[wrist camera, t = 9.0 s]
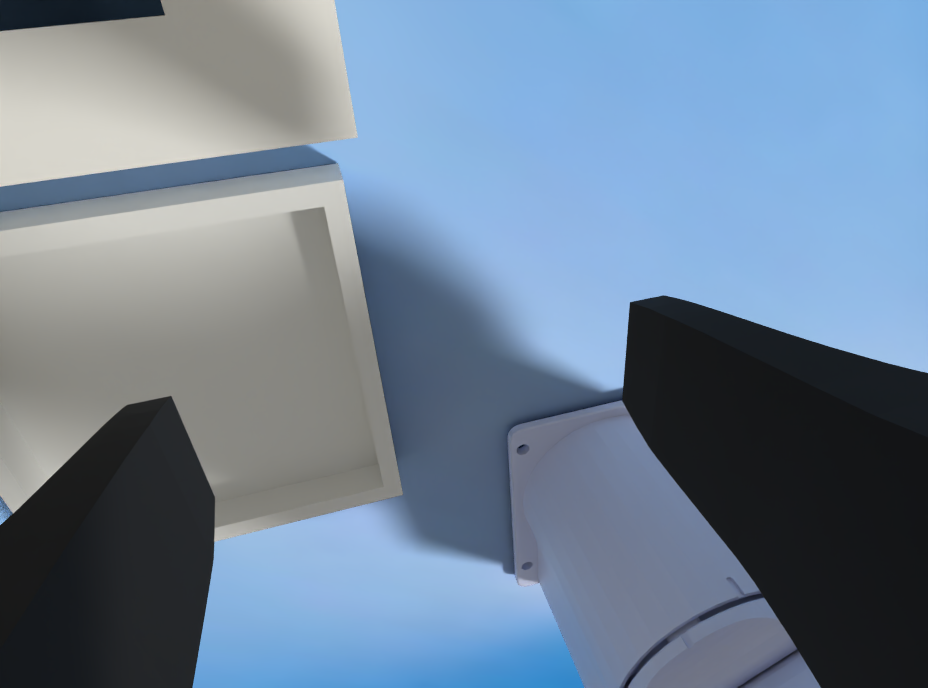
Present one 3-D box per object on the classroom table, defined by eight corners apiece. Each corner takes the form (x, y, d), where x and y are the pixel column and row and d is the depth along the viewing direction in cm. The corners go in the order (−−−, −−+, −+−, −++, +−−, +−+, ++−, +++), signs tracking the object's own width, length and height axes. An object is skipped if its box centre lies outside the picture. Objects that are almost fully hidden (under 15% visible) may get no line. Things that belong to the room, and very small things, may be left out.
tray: (395, 461, 22) (403, 494, 21) (76, 536, 20) (59, 580, 19) (337, 163, 16) (343, 179, 15) (-121, 229, 14) (-169, 256, 13)
